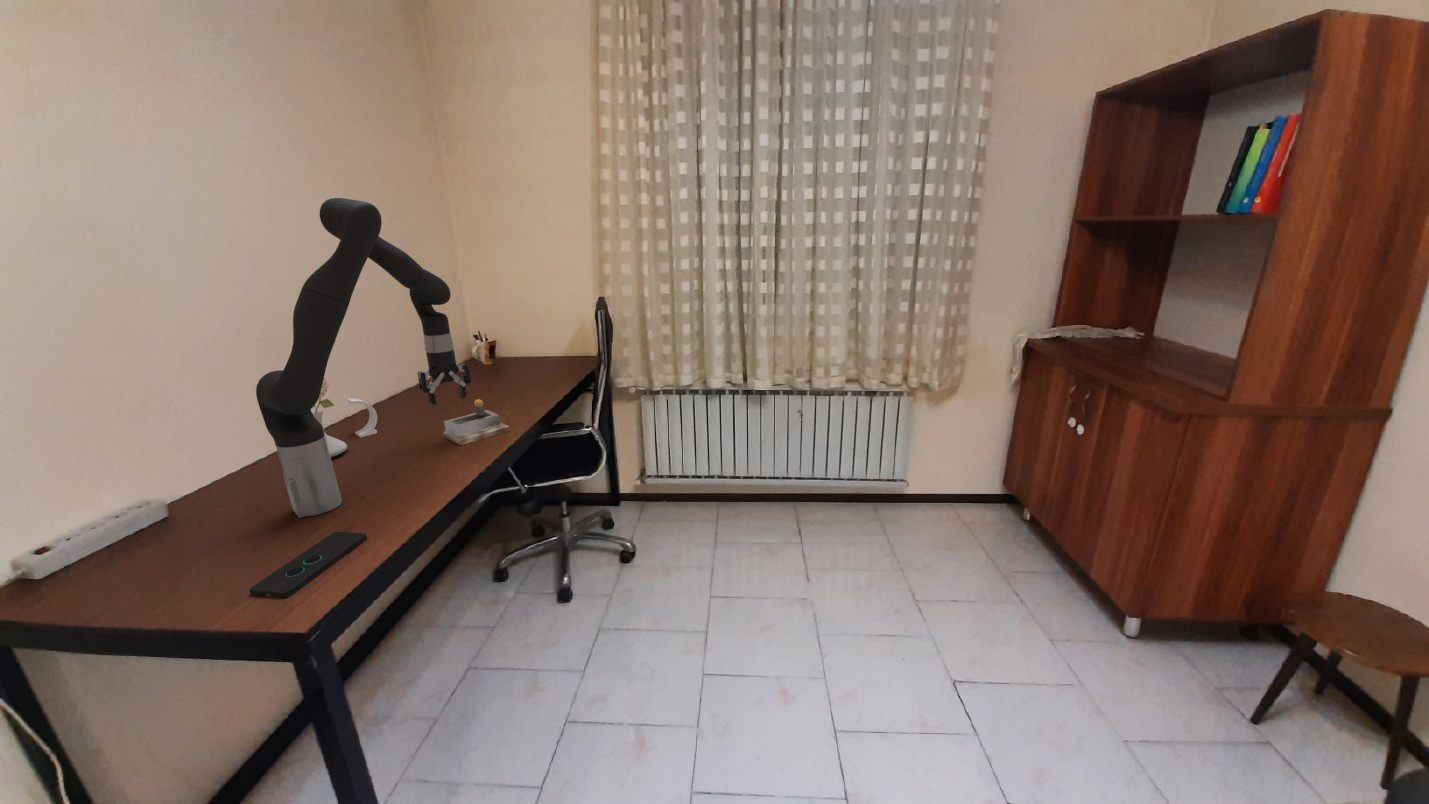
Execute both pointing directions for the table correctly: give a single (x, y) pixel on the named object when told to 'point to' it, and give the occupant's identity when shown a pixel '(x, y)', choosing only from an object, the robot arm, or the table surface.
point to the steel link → (471, 424)
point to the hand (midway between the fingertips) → (448, 401)
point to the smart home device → (307, 565)
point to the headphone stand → (372, 419)
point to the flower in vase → (332, 443)
